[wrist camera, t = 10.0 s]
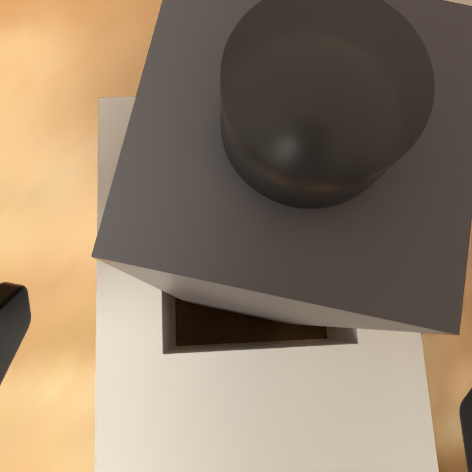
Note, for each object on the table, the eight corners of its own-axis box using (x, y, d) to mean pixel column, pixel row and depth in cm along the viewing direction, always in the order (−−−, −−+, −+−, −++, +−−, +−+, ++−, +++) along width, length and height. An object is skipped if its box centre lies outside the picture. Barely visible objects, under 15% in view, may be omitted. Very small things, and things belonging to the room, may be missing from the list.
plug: (285, 323, 17) (524, 340, 4) (187, 302, 17) (56, 239, 4) (302, 228, 18) (555, -59, 4) (209, 208, 18) (167, -139, 4)
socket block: (420, 739, 15) (502, 912, 10) (125, 767, 14) (84, 958, 10) (355, 136, 19) (394, 82, 15) (124, 144, 19) (95, 91, 14)
